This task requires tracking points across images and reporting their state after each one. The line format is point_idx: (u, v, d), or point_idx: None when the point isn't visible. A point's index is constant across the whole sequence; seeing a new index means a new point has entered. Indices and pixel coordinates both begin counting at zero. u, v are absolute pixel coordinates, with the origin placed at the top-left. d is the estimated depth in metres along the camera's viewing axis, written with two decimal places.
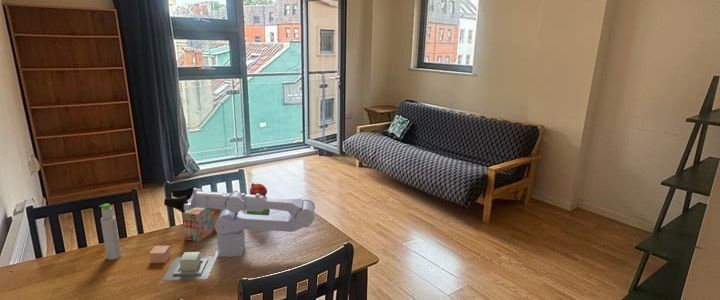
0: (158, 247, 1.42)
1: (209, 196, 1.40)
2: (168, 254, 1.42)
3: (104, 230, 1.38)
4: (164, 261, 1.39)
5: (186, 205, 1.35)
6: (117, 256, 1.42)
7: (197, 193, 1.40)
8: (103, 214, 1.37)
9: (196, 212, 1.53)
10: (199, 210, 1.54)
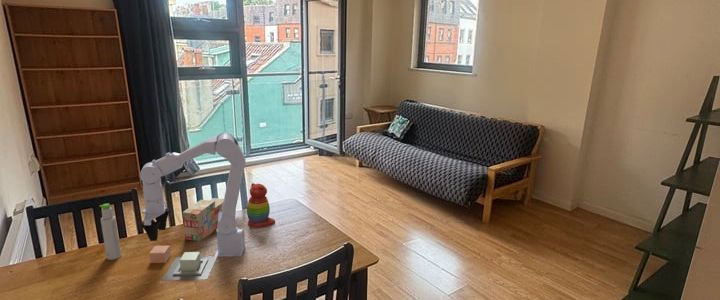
0: (158, 247, 1.42)
1: (145, 199, 1.33)
2: (168, 254, 1.42)
3: (104, 230, 1.38)
4: (164, 261, 1.39)
5: (144, 222, 1.30)
6: (117, 256, 1.42)
7: (145, 209, 1.35)
8: (103, 214, 1.37)
9: (196, 212, 1.53)
10: (199, 210, 1.54)
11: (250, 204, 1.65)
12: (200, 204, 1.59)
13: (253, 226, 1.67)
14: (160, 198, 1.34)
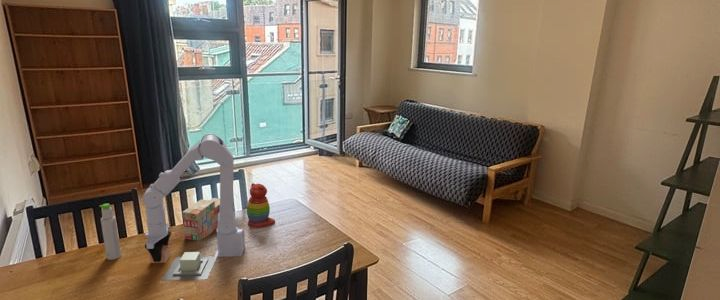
0: None
1: (148, 222, 1.35)
2: (168, 254, 1.42)
3: (104, 230, 1.38)
4: (164, 261, 1.39)
5: (147, 246, 1.32)
6: (117, 256, 1.42)
7: (148, 232, 1.38)
8: (103, 214, 1.37)
9: (196, 212, 1.53)
10: (199, 210, 1.54)
11: (250, 204, 1.65)
12: (200, 204, 1.59)
13: (253, 226, 1.67)
14: (162, 221, 1.37)
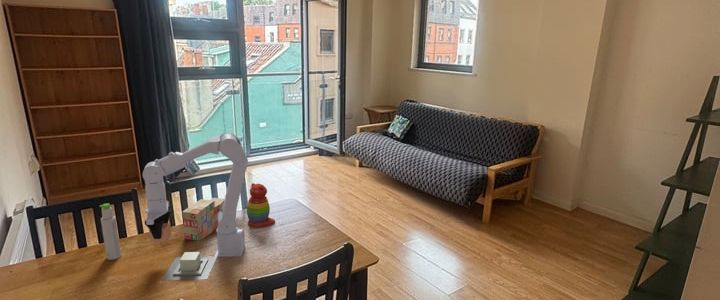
0: None
1: (148, 198, 1.32)
2: (168, 232, 1.39)
3: (104, 230, 1.38)
4: (164, 238, 1.37)
5: (147, 222, 1.29)
6: (117, 256, 1.42)
7: (148, 209, 1.35)
8: (103, 214, 1.37)
9: (196, 211, 1.53)
10: (199, 209, 1.55)
11: (250, 204, 1.65)
12: (200, 204, 1.59)
13: (253, 226, 1.67)
14: (163, 197, 1.34)
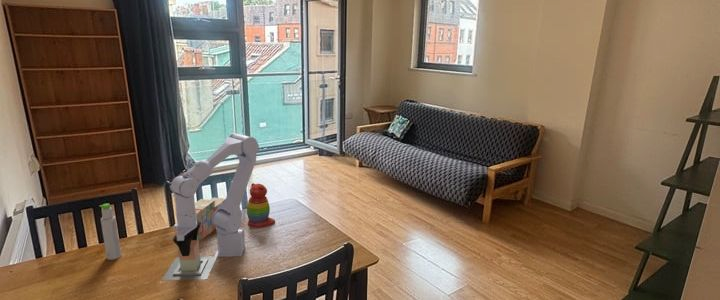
0: None
1: (182, 214, 1.29)
2: (197, 249, 1.36)
3: (104, 230, 1.38)
4: (193, 256, 1.33)
5: (177, 238, 1.26)
6: (117, 256, 1.42)
7: (177, 223, 1.31)
8: (103, 214, 1.37)
9: (196, 211, 1.53)
10: (199, 209, 1.55)
11: (250, 204, 1.65)
12: (200, 203, 1.60)
13: (253, 226, 1.67)
14: None
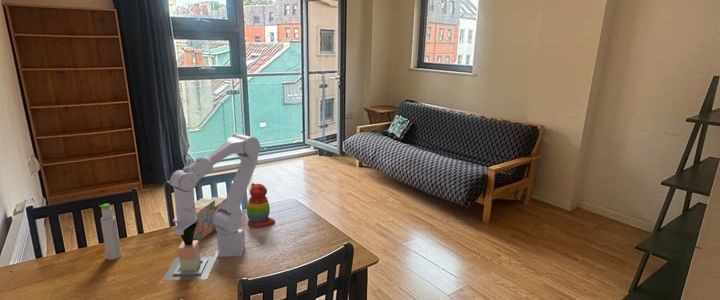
0: None
1: (182, 208, 1.28)
2: (197, 249, 1.36)
3: (104, 230, 1.38)
4: (193, 256, 1.33)
5: (177, 232, 1.26)
6: (117, 256, 1.42)
7: (176, 218, 1.31)
8: (103, 214, 1.37)
9: (196, 210, 1.54)
10: (199, 209, 1.55)
11: (250, 204, 1.65)
12: (200, 203, 1.60)
13: (253, 226, 1.67)
14: (194, 204, 1.32)
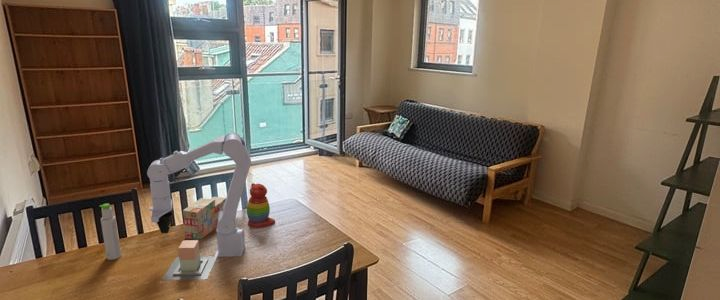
0: (187, 242, 1.36)
1: (152, 196, 1.34)
2: (197, 249, 1.36)
3: (104, 230, 1.38)
4: (193, 256, 1.33)
5: (152, 220, 1.31)
6: (117, 256, 1.42)
7: None
8: (103, 214, 1.37)
9: (196, 210, 1.54)
10: (199, 208, 1.56)
11: (250, 204, 1.65)
12: (200, 202, 1.61)
13: (253, 226, 1.67)
14: (167, 196, 1.35)
